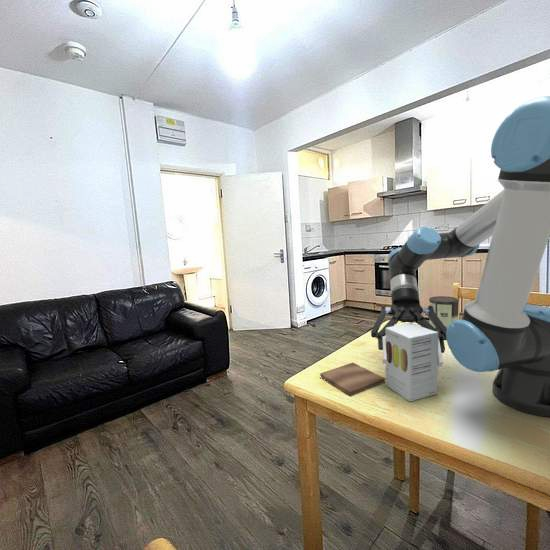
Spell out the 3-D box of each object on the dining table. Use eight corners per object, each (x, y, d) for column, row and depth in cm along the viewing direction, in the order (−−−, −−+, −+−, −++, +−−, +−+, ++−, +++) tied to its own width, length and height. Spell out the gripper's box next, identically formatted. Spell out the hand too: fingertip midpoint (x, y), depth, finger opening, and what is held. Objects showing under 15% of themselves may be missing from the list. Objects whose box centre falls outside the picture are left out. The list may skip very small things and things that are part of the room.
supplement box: (384, 385, 84) (383, 327, 81) (411, 378, 87) (410, 321, 84) (410, 402, 75) (410, 337, 72) (438, 394, 78) (439, 331, 75)
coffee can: (449, 328, 126) (449, 295, 124) (464, 336, 116) (464, 300, 114) (424, 329, 126) (424, 296, 124) (437, 338, 116) (437, 302, 114)
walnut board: (385, 382, 85) (384, 378, 85) (350, 396, 79) (350, 391, 79) (353, 365, 97) (352, 362, 97) (320, 377, 91) (320, 373, 90)
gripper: (448, 300, 89) (462, 371, 77) (362, 299, 96) (362, 364, 84) (453, 285, 83) (470, 360, 71) (361, 286, 90) (362, 354, 78)
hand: (412, 362), depth 77 cm, fingers closed on supplement box, 12 cm apart
